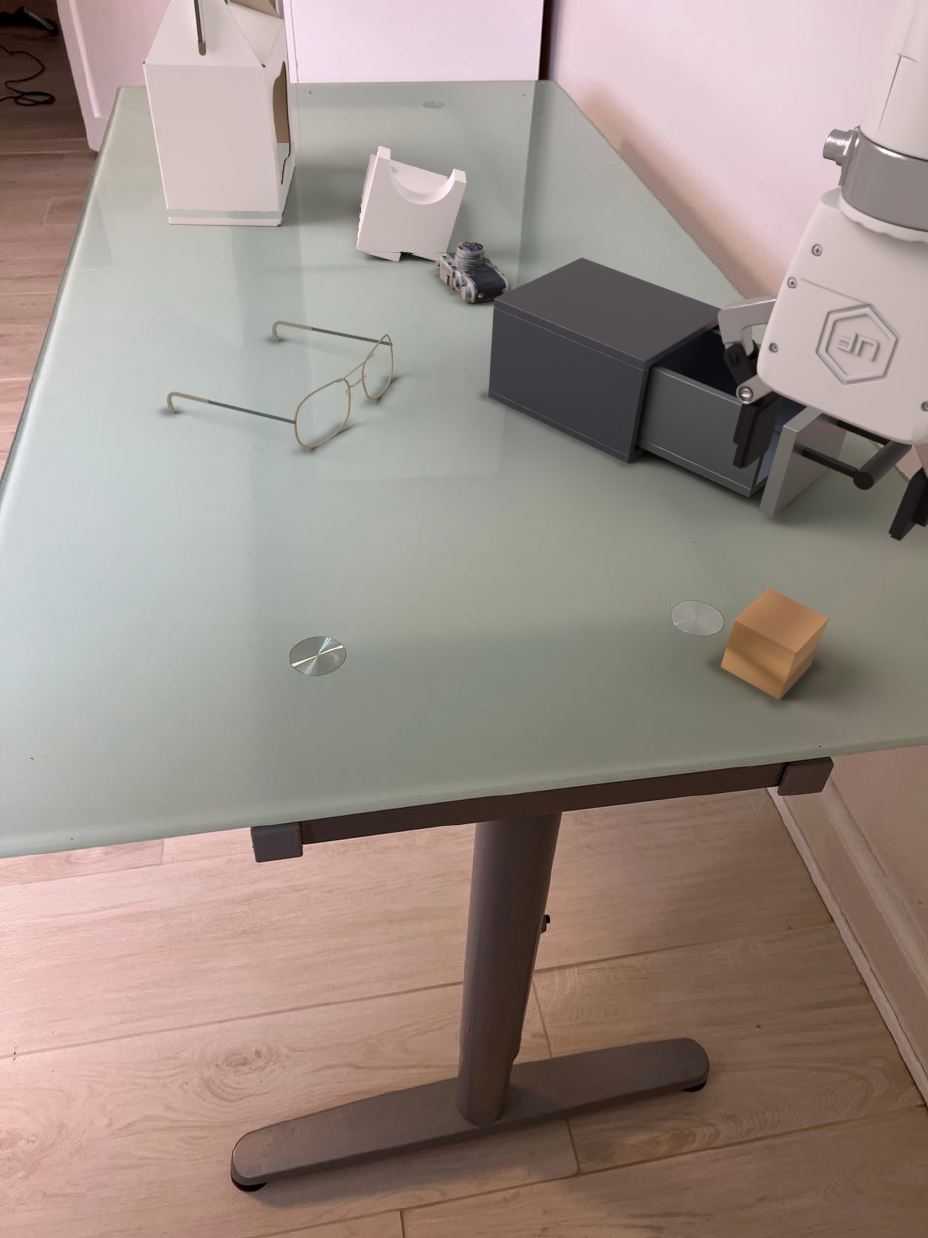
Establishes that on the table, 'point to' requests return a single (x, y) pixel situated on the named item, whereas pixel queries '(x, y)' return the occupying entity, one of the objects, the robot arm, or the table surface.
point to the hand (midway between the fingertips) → (824, 491)
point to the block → (773, 642)
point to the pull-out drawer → (706, 421)
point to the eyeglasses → (275, 338)
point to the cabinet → (588, 349)
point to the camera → (472, 273)
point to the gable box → (221, 108)
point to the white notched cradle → (407, 208)
